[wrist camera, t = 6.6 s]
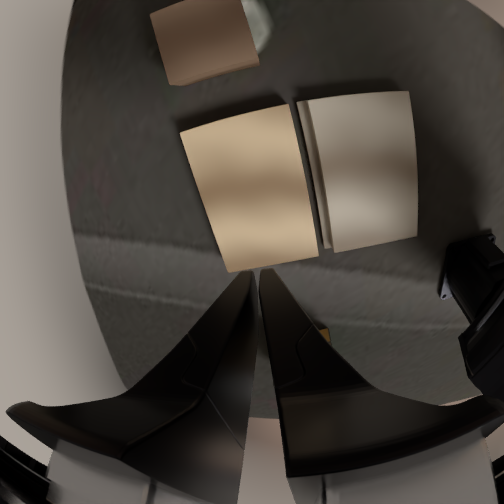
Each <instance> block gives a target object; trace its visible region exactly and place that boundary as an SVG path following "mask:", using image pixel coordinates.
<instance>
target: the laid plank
mask: <svg viewBox="0 0 504 504" xmlns="http://www.w3.org/2000/svg"><path fill="white" fill-rule="evenodd" d="M296 103H297V108H298V112H299V116H300V120H301V124H302V129H303V133H304V138H305V142H306V147H307V152H308V157H309V162H310V167H311V172H312V177H313V183H314V188H315V194H316V199H317V205H318V211H319V217H320V224H321V230H322V237H323V244H324V248H325V249H327V248H333V251H334V253H336V252H341V251H347V250H352V249H357V248H362V247H366V246H371V245H376V244H381V243H386V242H391V241H396V240H401V239H405V238H410V237H415V236H417V224H418V176H417V157H416V144H415V133H414V124H413V116H412V109H411V103H410V96H409V91H386V92H370V93H359V94H349V95H340V96H332V97H325V98H318V99H312V100H305V101H300V102H296Z"/></svg>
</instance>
